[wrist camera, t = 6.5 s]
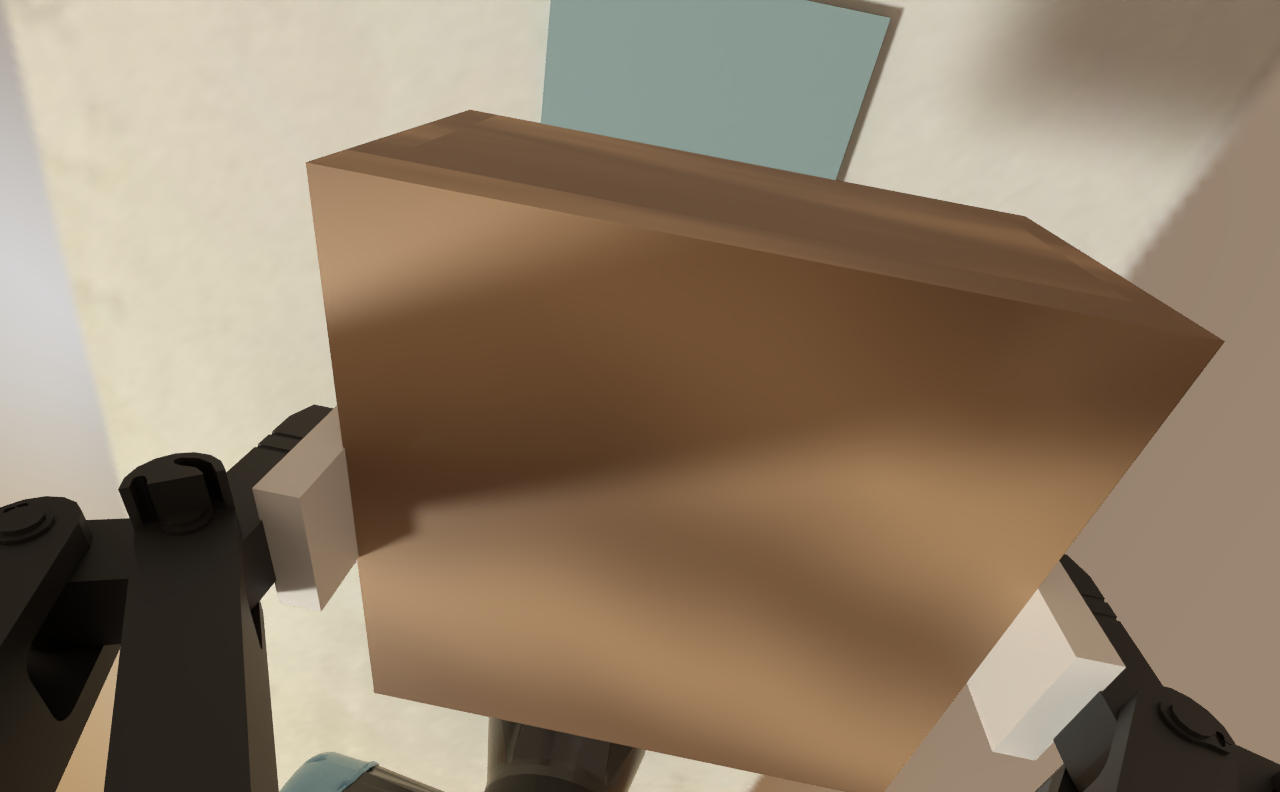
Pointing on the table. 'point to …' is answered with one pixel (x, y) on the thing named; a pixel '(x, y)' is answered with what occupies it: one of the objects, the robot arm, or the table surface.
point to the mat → (714, 76)
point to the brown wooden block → (711, 436)
